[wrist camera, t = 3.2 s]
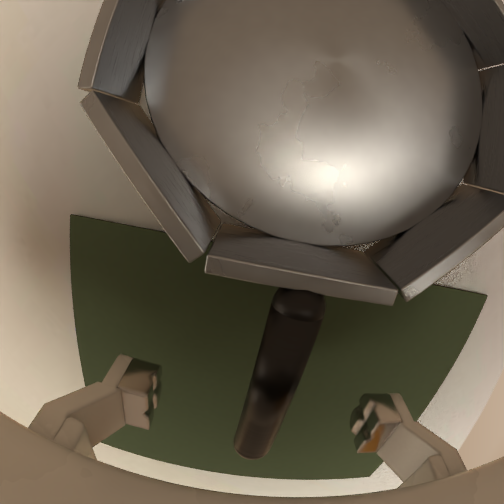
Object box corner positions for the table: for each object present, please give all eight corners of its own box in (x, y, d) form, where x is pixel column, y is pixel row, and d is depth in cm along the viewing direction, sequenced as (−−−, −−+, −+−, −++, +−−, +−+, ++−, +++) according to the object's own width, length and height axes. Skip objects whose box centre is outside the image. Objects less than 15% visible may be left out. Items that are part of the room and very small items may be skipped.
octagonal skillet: (194, -65, 7) (171, -128, 2) (469, 13, 7) (529, -14, 3) (122, 356, 13) (83, 424, 9) (371, 395, 14) (396, 464, 9)
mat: (486, 295, 12) (487, 296, 12) (369, 475, 17) (369, 476, 17) (71, 214, 11) (70, 214, 11) (100, 441, 16) (99, 442, 16)
